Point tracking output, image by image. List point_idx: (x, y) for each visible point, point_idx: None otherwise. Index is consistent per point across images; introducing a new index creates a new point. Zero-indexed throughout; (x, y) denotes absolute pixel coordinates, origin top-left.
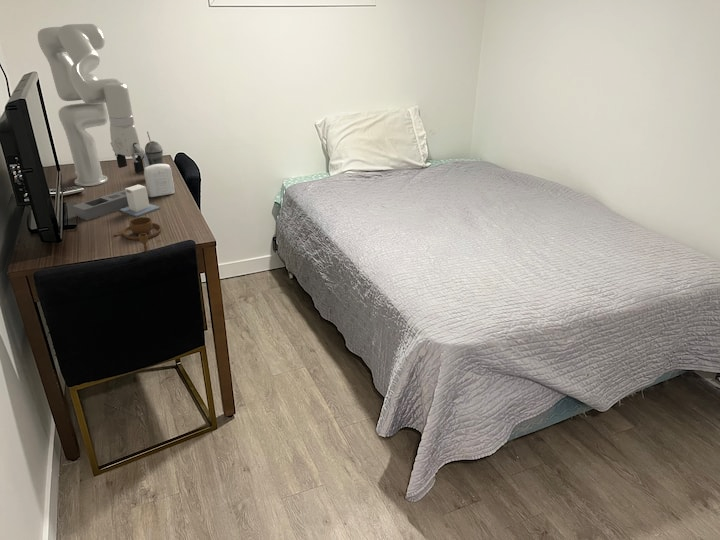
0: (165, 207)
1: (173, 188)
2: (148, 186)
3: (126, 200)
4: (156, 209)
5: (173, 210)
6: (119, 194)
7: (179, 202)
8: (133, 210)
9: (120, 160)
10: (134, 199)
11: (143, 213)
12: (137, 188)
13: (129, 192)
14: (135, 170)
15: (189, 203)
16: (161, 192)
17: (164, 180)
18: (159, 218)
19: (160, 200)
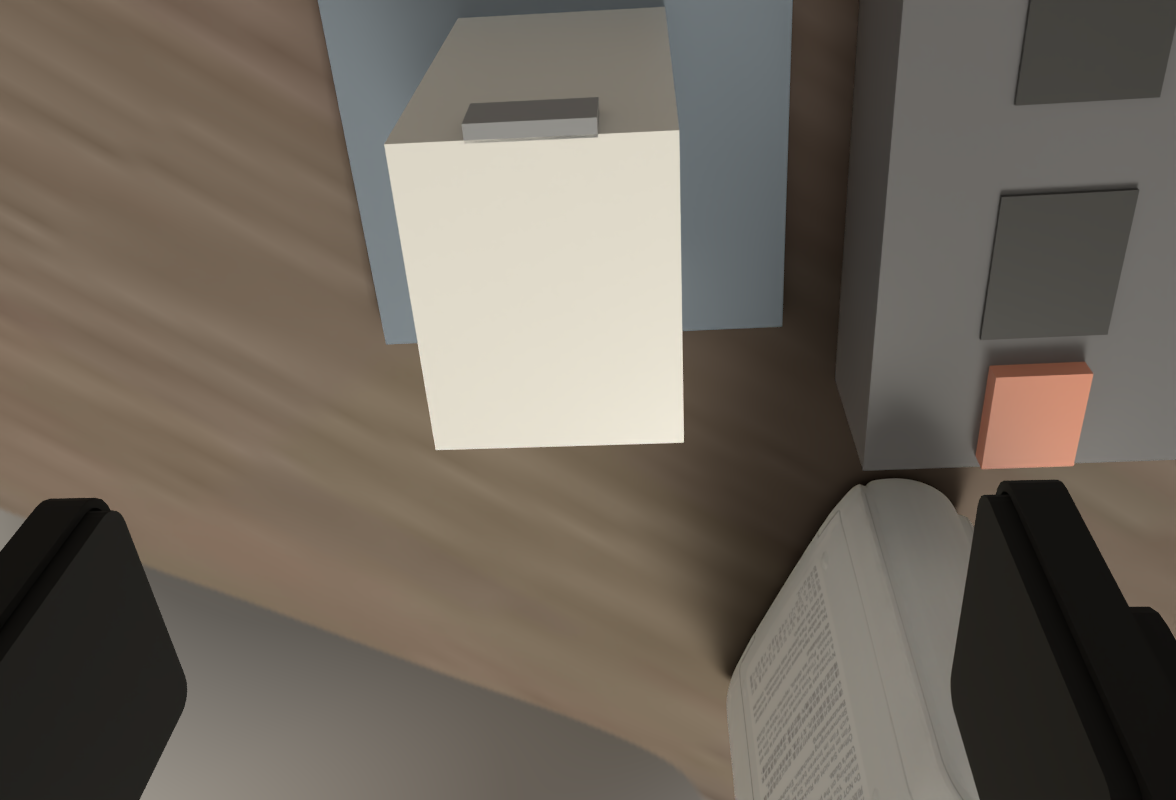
0: (382, 393)
1: (731, 740)
2: (906, 590)
3: (873, 120)
4: (379, 279)
5: (203, 393)
6: (1096, 137)
7: (417, 573)
8: (546, 14)
9: (1048, 744)
10: (424, 90)
11: (332, 57)
12: (456, 299)
13: (493, 105)
14: (23, 555)
15: (299, 612)
16: (786, 613)
17: (778, 790)
18: (24, 113)
19: (669, 491)
